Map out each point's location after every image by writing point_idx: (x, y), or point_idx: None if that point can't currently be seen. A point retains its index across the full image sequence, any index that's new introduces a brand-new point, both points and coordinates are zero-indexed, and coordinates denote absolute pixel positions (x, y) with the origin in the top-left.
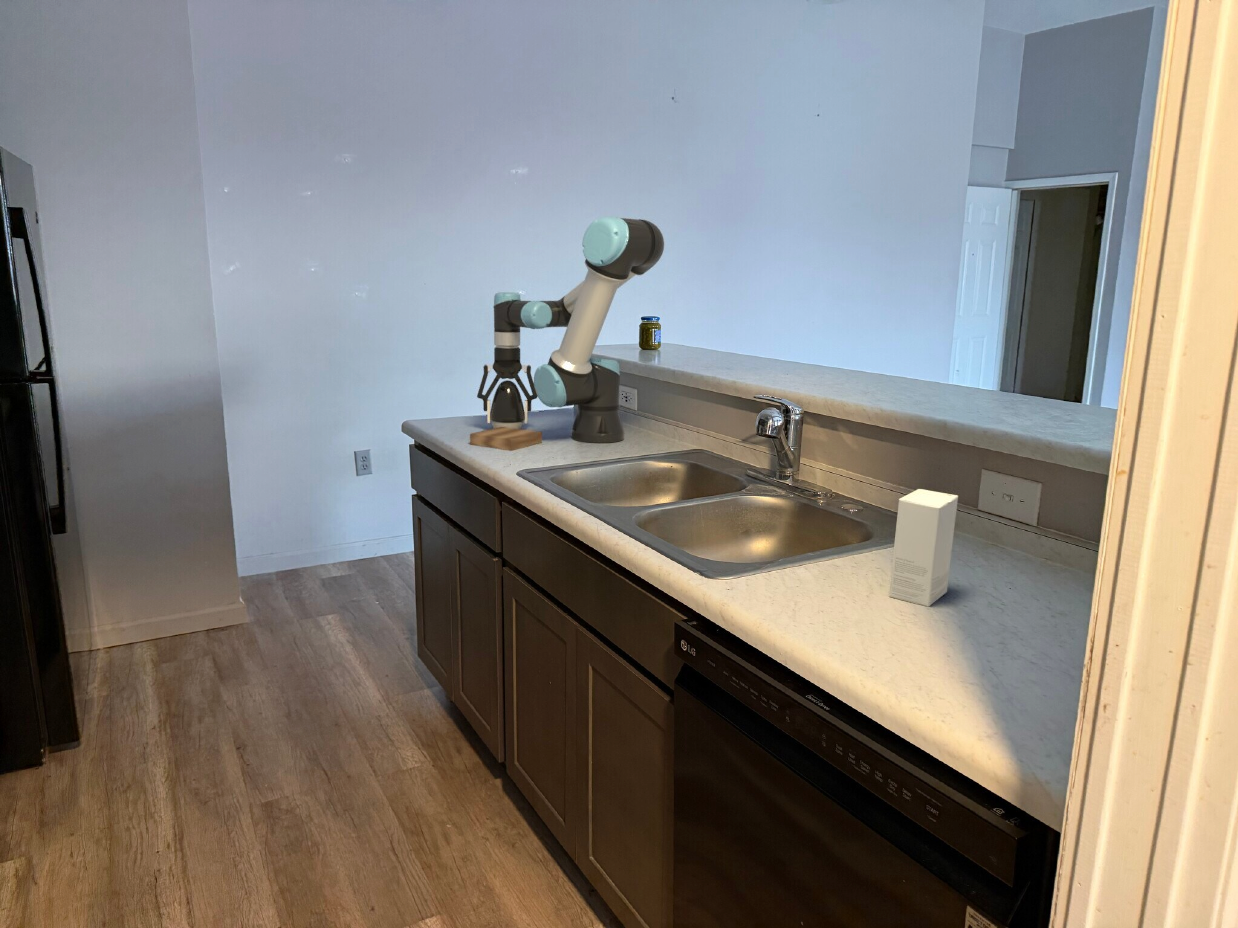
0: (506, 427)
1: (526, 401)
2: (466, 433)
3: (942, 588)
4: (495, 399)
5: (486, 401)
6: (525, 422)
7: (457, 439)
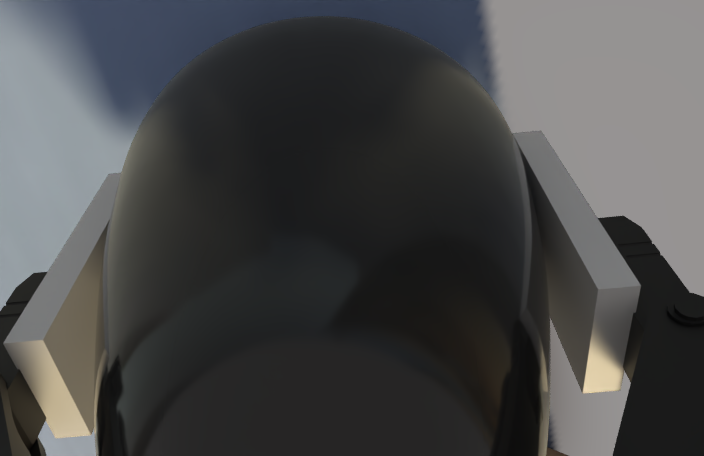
0: None
1: (607, 388)
2: (5, 262)
3: None
4: None
5: (36, 410)
6: None
7: (50, 441)
